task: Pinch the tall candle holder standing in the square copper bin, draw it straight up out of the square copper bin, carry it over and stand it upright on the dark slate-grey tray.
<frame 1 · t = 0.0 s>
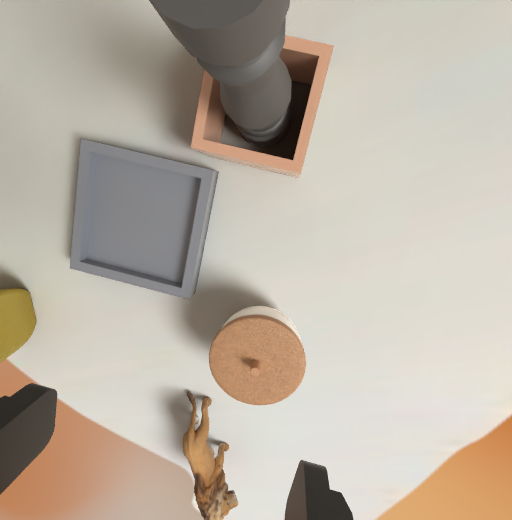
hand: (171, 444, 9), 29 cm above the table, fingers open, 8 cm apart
lidded jar: (262, 331, 40), on the table
tray: (146, 220, 38), on the table
flower pot: (20, 306, 43), on the table
lion figurine: (215, 431, 45), on the table
square copper bin: (263, 118, 34), on the table
candle holder: (264, 118, 34), resting in square copper bin
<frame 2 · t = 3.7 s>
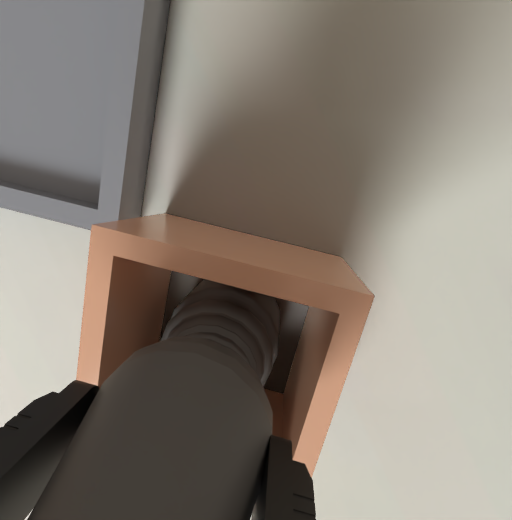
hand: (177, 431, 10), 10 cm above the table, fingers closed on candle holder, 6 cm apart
tray: (25, 64, 17), on the table
square copper bin: (232, 316, 19), on the table
candle holder: (233, 315, 19), resting in square copper bin, touching gripper
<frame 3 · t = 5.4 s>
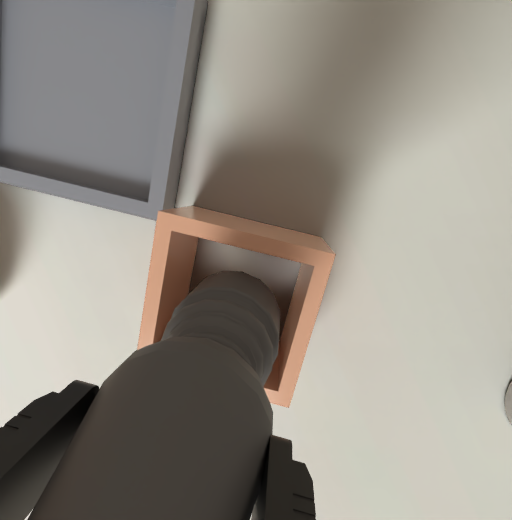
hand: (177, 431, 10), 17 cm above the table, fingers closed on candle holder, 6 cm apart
tray: (92, 97, 24), on the table
square copper bin: (242, 282, 26), on the table
candle holder: (233, 315, 19), point 7 cm above the table, touching gripper
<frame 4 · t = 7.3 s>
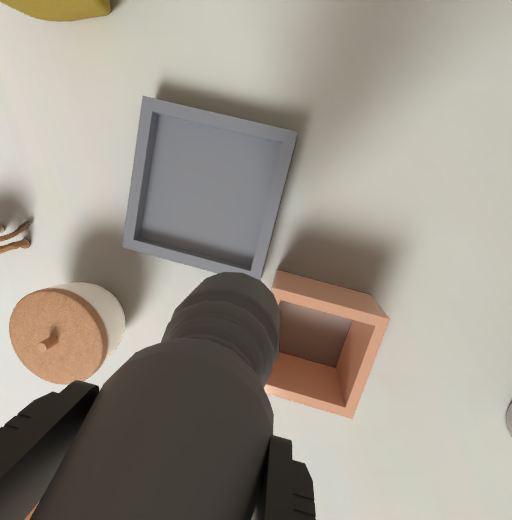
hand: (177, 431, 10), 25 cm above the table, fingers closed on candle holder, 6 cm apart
lidded jar: (102, 311, 39), on the table
tray: (209, 194, 34), on the table
square copper bin: (309, 324, 35), on the table
candle holder: (233, 316, 19), point 16 cm above the table, touching gripper
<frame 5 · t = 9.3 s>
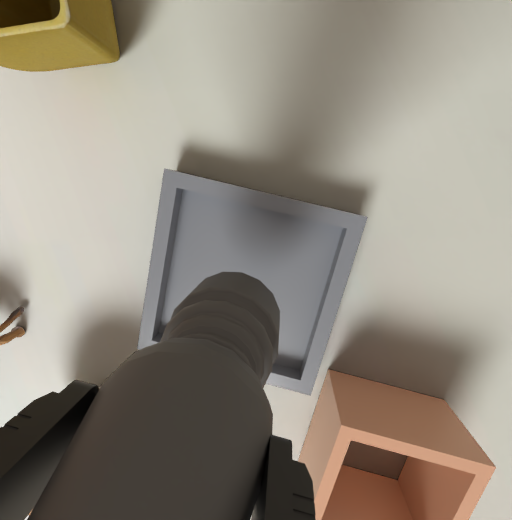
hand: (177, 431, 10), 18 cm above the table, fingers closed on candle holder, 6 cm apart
tray: (245, 280, 27), on the table
flower pot: (88, 33, 24), on the table
square copper bin: (367, 431, 29), on the table
candle holder: (233, 316, 19), point 8 cm above the table, touching gripper
when the fingers open (12 cm above the table, at t = 10.9 s): candle holder drops 1 cm, resting on tray.
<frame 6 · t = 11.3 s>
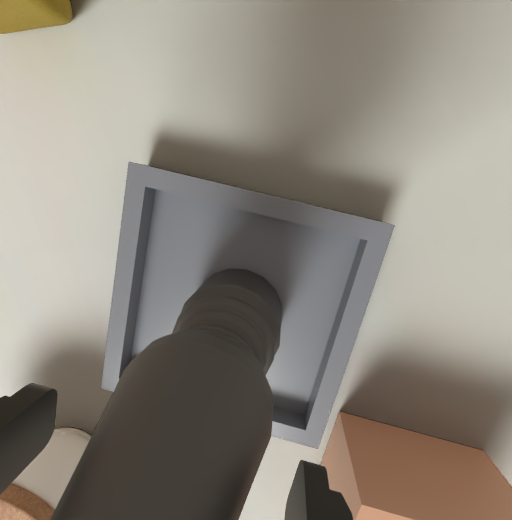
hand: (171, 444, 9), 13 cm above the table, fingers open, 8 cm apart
lidded jar: (76, 454, 27), on the table
tray: (237, 302, 22), on the table
square copper bin: (386, 486, 24), on the table
candle holder: (238, 310, 21), point 1 cm above the table, touching tray
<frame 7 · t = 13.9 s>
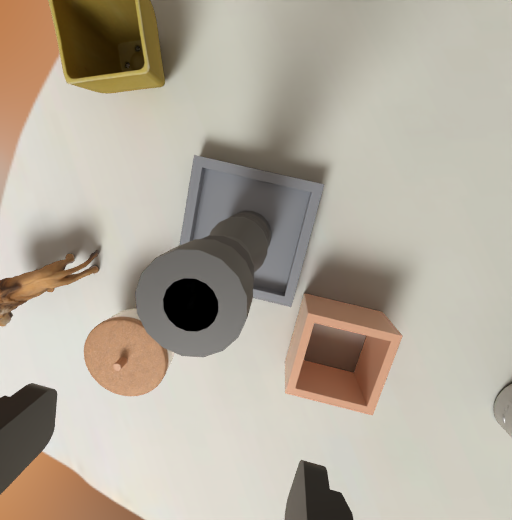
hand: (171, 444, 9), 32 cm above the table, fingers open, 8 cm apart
lidded jar: (151, 330, 45), on the table
tray: (247, 231, 40), on the table
flower pot: (142, 66, 37), on the table
lion figurine: (62, 276, 44), on the table
square copper bin: (331, 337, 42), on the table
candle holder: (248, 234, 39), point 1 cm above the table, touching tray
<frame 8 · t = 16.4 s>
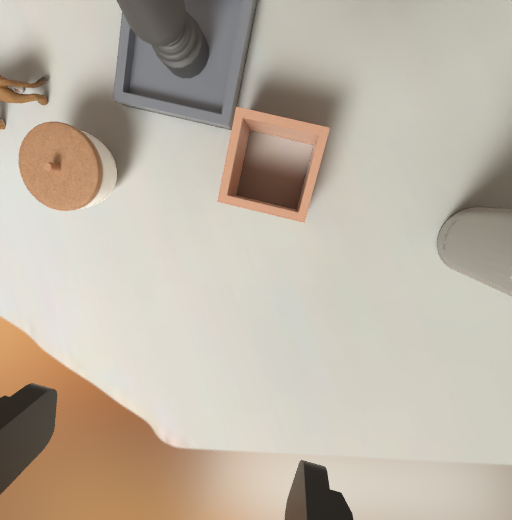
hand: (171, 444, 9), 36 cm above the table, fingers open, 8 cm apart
lidded jar: (97, 172, 45), on the table
tray: (186, 54, 40), on the table
lion figurine: (13, 112, 44), on the table
square copper bin: (273, 170, 42), on the table
candle holder: (186, 53, 39), point 1 cm above the table, touching tray
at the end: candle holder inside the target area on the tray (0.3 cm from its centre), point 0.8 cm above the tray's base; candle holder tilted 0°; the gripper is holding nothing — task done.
